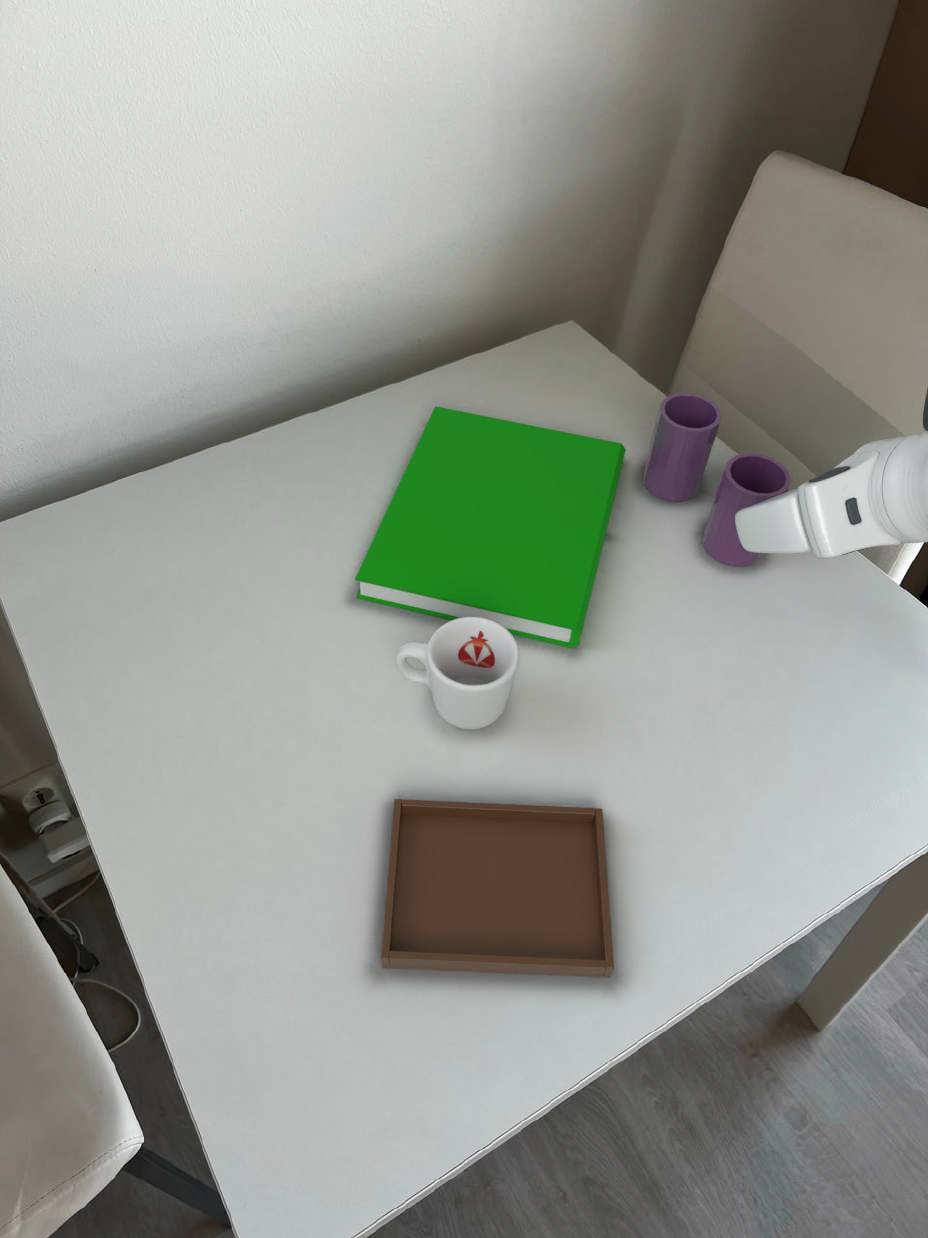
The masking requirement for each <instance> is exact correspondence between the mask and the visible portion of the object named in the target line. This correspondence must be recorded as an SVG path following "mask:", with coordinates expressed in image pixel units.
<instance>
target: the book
mask: <svg viewBox="0 0 928 1238" xmlns="http://www.w3.org/2000/svg"><path fill="white" fill-rule="evenodd" d="M625 454H626V448H625V446H624V445H623V443H621V442H617V441H612V440H606V439H602V438H598V437H592V436H586V435H581V434H577V433H571V432H566V431H562V430H557V429H551V428H546V427H542V426H537V425H532V424H527V423H522V422H516V421H511V420H508V419H507V420H506V419H501V418H496V417H492V416H491V417H490V416H486V415H481V414H476V413H471V412H468V411H467V412H466V411H462V410H457V409H451V408H447V407H441V406H436V405H435V406H434V408H433V410H432V411H431V414H430V417H429V419H428V421H427V423H426V425H425V427H424V429H423V431H422V434H421V436H420V438H419V439H418V442H417V445H416V447H415V449H414V451H413V453H412V455H411V457H410V460H409V462H408V464H407V466H406V468H405V470H404V473H403V475H402V477H401V479H400V481H399V483H398V485H397V488H396V490H395V491H394V494H393V496H392V498H391V501H390V502H389V504H388V506H387V509H386V511H385V513H384V516H383V518H382V519H381V521H380V524H379V525H378V528H377V530H376V532H375V535H374V537H373V539H372V541H371V543H370V545H369V547H368V550H367V551H366V554H365V555H364V556H365V557H364V558H363V561H362V563H361V565H360V568H359V569H358V571H357V573H356V575H355V579H354V580H355V581H357V582H359V590H358V592H357V595H356V599H358V600H362V601H366V602H371V603H375V604H379V605H383V606H387V607H393V608H397V609H402V610H406V611H409V612H414V613H419V614H421V615H422V614H423V615H427V616H432V617H435V618H440V619H445V620H449V621H451V620H454V619H458V618H463V617H481V618H486V619H489V620H492V621H494V622H496V623H498V624H500V625H502V626H503V627H504V628H506V629H507V630H508V631H509V632H510V633H511V634H512V636H516V637H517V636H519V637H522V638H526V639H531V640H535V641H540V642H542V643H543V642H544V643H549V644H552V645H557V646H561V647H566V648H569V649H573V648H575V647H577V646H580V641H581V638H582V634H583V630H584V625H585V621H586V617H587V612H588V609H589V604H590V601H591V596H592V591H593V588H594V585H595V579H596V575H597V571H598V567H599V564H600V563H599V562H600V558H601V554H602V549H603V546H604V542H605V538H606V534H607V530H608V526H609V522H610V518H611V514H612V509H613V505H614V501H615V496H616V492H617V489H618V484H619V480H620V477H621V472H622V469H623V468H622V467H623V463H624V459H625Z"/></svg>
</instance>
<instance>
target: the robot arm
mask: <svg viewBox="0 0 928 1238" xmlns="http://www.w3.org/2000/svg"><path fill="white" fill-rule="evenodd" d="M922 427H923V430H924V431H923V432H918V433H914V434H908V435H901V436H896V437H890V438H884V439H879V440H873V441H869V442H868V443H865V444H863V445H862V446H860V447H859V448H858V449H857V450H856V451H854V453H853V454H852V455H850V456H848V457H847V458H845V459H844V460H842V461H841V462H840V463H838V464H837V465H836V466H835V467H833V468H831V469H829V470H827V471H825V472H824V473H821V474H820V475H818V476H815V477H812V478H811V479H809V480H808V481H805V482H804V483H802V484H800V485H798V487H797V488H793V489H790V490H788V491H787V492H786V493H783V494H781V495H778V496H776V497H773V498H770V499H768V500H765V501H763V502H760V503H758V504H755V505H752V506H750V507H747V508H744V509H741V510H739V511H738V512H737V513H736V514H735V523H736V528H737V533H738V536H739V539H740V542H741V544H742V546H743V548H744V549H745V550H747V551H749V552H755V553H762V554H774V555H775V554H778V555H779V554H781V555H782V554H784V555H789V554H793V555H794V554H803V553H809V552H813V554H814V556H815V558H816V559H832V558H836V557H840V556H845V555H849V554H852V553H855V552H859V551H863V550H867V549H870V548H874V547H890V546H891V547H892V546H893V547H894V546H899V545H901V544H919V543H921V544H922V543H928V387H927V388H926V394H925V399H924V404H923V412H922Z"/></svg>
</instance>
